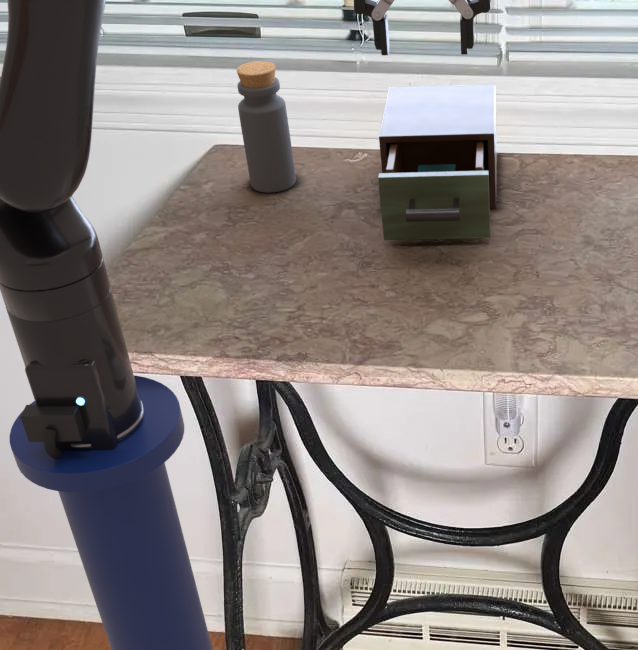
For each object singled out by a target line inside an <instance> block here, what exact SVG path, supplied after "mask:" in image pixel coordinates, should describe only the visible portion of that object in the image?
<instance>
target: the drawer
mask: <svg viewBox="0 0 638 650" xmlns="http://www.w3.org/2000/svg"><path fill="white" fill-rule="evenodd" d="M444 164H455V165H456V171H450V172H418V166H419V165H444ZM377 179H378V180H377V181H378V193H379V202H380V212H381V213H380V214H381V225H382V236H383V241H407V240H408V241H409V240H412V241H413V240H448V239H449V240H451V239H455V240H456V239H490V238H491V209H490V203H489V171H485V140H469V141H431V142H393V143H391V146H390V152H389V157H388V163H387V168H386V173H382V172H379V173H378V176H377Z"/></svg>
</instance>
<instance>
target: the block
mask: <svg viewBox="0 0 638 650" xmlns="http://www.w3.org/2000/svg"><path fill="white" fill-rule="evenodd" d="M450 171H456V165H455V164H444V165H419V166H418V172H450Z"/></svg>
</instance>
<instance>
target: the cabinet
mask: <svg viewBox="0 0 638 650" xmlns="http://www.w3.org/2000/svg"><path fill="white" fill-rule="evenodd" d="M496 99H497V98H496V83H492V84H491V83H490V84H487V83H486V84H455V85H453V84H452V85H451V84H449V85H421V86H420V85H418V86H417V85H416V86H415V85H414V86H389V87H388V91H387V95H386V100H385V106H384V111H383V115H382V121H381V125H380V130H379V134H378V142H379V154H380V167H381V173H386V168H387V163H388V157H389V152H390V146H391V143H393V142H431V141H469V140H485V171H489V203H490V210H493V209H494V210H495V209H497V185H498V184H497V183H498V179H497V176H498V173H497V172H498V171H497V170H498V146H497V144H498V142H497V141H498V139H497V106H496V104H497V103H496Z"/></svg>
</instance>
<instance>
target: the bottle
mask: <svg viewBox="0 0 638 650" xmlns="http://www.w3.org/2000/svg"><path fill="white" fill-rule="evenodd" d="M276 67H277V66H276V64H275V63H273V62H270V61H265V60H257V61H249V62H245V63H243V64H241V65H239V66H238V67H237V68H236V73H237V76H238V79H239V81H238V83H237V92H238V94H239V95H241V96H242V97H243V98H242V99H241V100H240V102H239V103H238V105H237V107H238V116H239V123H240V129H241V135H242V141H243V147H244V153H245V159H246V164H247V165H246V166H247V171H248V175H249V176H248V177H249V182H250V186H251V188H252V189H253V190H255V191H257V192H260V193H268V194H269V193H270V194H271V193H278V192H279V193H280V192H282V191H286V190H289V189H291V188H292V187H293V186H294V185H295V184H296V183H297V177H296V169H295V161H294V155H293V148H292V139H291V133H290V126H289V125H290V124H289V119H288V113H287V106H286V102H285V99H284V98H283V97H281V96H280V95H278V94H277V93H278V92H279V91H280V89H281V84H280V83H281V82H280V80H279V78H277V77H276V69H277V68H276Z"/></svg>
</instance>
